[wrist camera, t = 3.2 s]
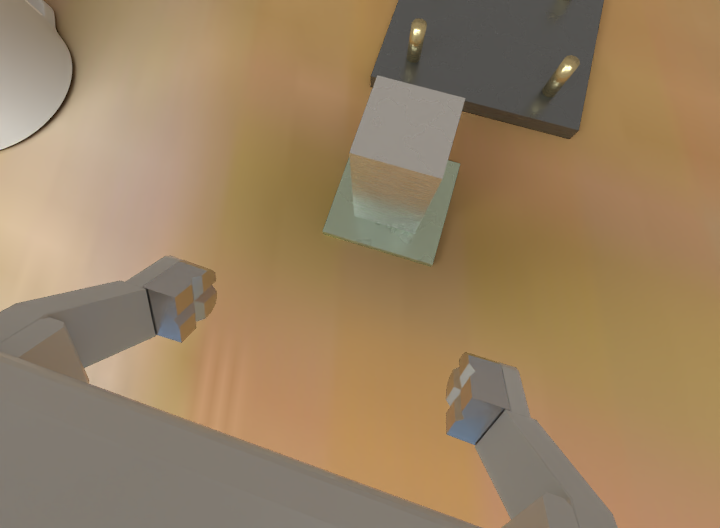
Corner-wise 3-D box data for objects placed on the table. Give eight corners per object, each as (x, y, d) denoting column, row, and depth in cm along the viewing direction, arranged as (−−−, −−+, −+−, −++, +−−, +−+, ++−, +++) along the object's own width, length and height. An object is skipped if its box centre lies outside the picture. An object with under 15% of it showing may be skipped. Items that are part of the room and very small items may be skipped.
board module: (323, 234, 26) (300, 175, 16) (357, 140, 28) (354, 38, 18) (430, 266, 25) (471, 225, 16) (457, 168, 27) (509, 77, 17)
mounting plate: (370, 86, 29) (371, 45, 24) (422, -57, 32) (431, -114, 28) (569, 139, 27) (606, 104, 23) (600, -18, 31) (636, -71, 27)
